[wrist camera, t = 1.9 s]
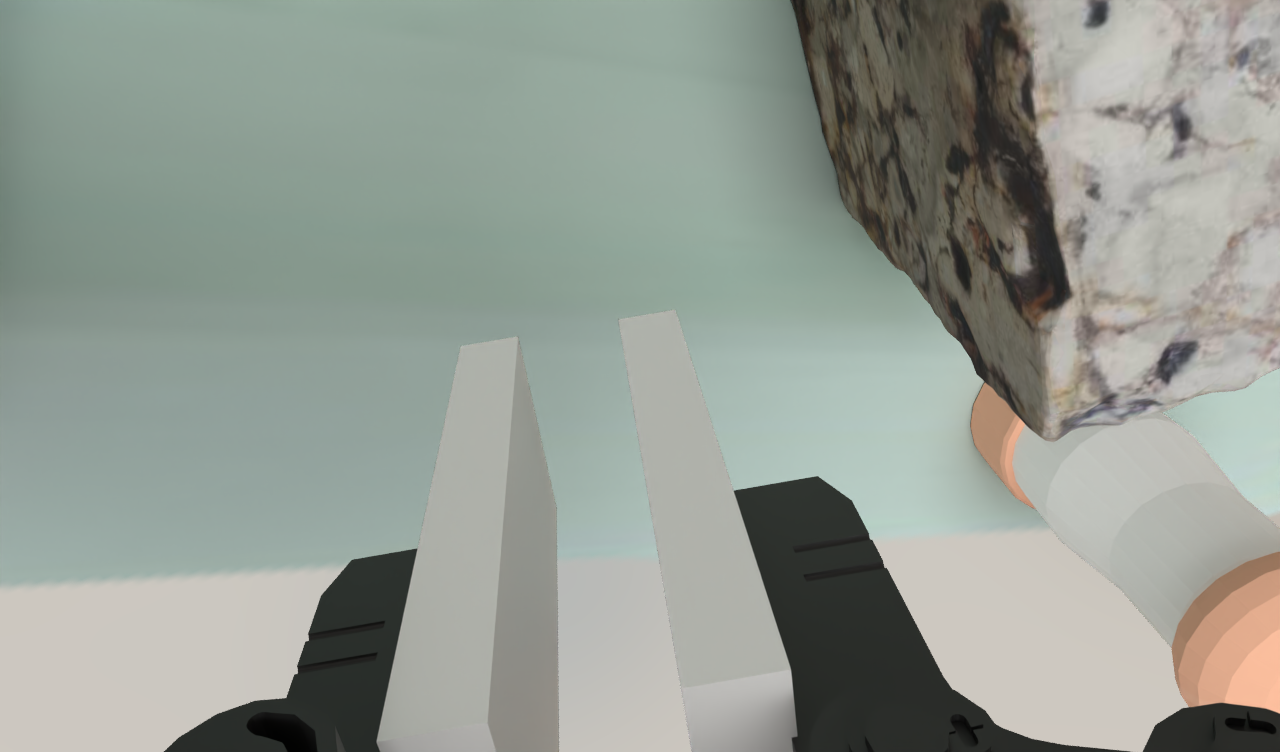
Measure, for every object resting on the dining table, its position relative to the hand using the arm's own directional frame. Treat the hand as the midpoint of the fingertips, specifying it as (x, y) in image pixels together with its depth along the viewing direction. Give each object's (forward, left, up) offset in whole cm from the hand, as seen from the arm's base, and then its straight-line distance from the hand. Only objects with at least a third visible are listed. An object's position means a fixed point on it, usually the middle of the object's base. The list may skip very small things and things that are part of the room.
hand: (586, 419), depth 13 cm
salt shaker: (+20, -18, -27) cm, 38 cm away
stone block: (+12, 0, -27) cm, 29 cm away
